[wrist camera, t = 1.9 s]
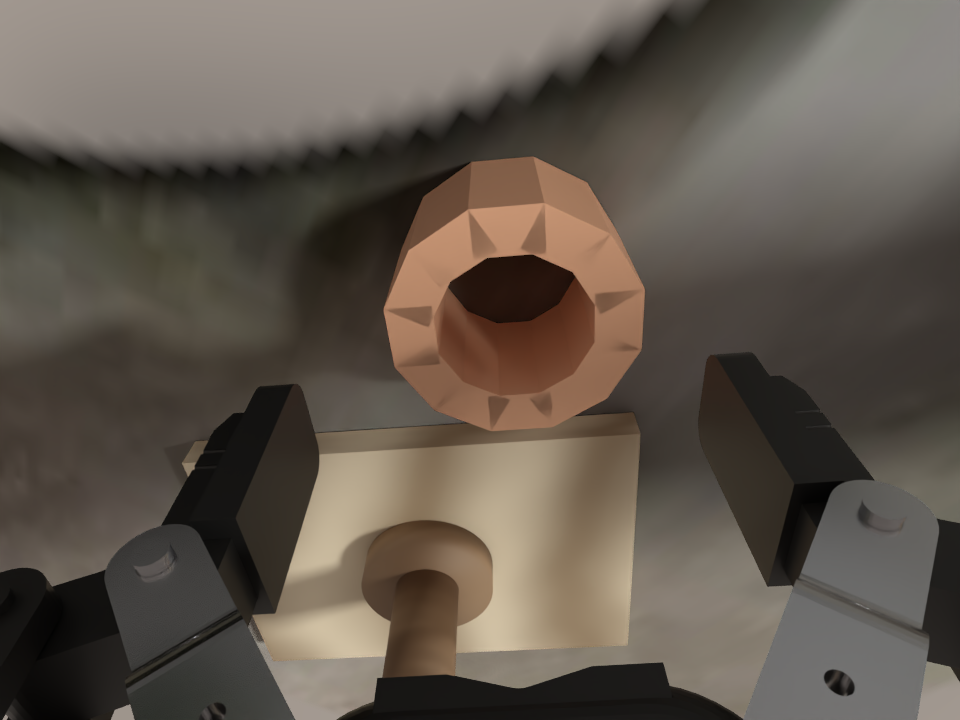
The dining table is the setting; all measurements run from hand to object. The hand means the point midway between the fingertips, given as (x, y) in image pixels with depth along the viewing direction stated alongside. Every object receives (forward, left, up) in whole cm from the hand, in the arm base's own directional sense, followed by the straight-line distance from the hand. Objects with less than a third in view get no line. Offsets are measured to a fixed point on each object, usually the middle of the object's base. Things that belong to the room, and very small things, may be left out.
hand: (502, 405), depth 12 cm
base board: (+4, +12, -8) cm, 15 cm away
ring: (0, 0, -8) cm, 8 cm away
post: (+4, +12, -6) cm, 14 cm away
